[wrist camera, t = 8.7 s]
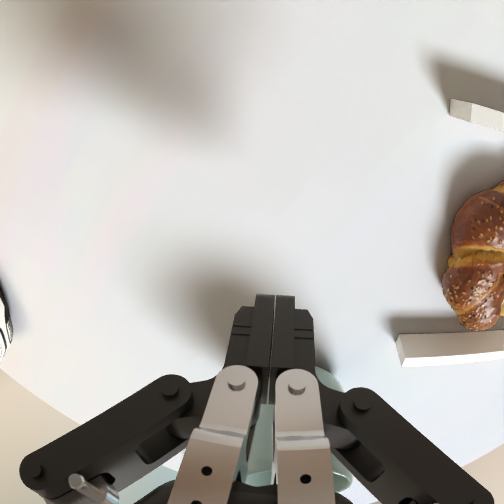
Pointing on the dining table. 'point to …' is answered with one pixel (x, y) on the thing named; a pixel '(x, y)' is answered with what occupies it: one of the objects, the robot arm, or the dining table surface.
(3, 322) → the milk container
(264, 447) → the cup
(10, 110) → the dining table surface
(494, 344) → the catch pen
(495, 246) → the pretzel
